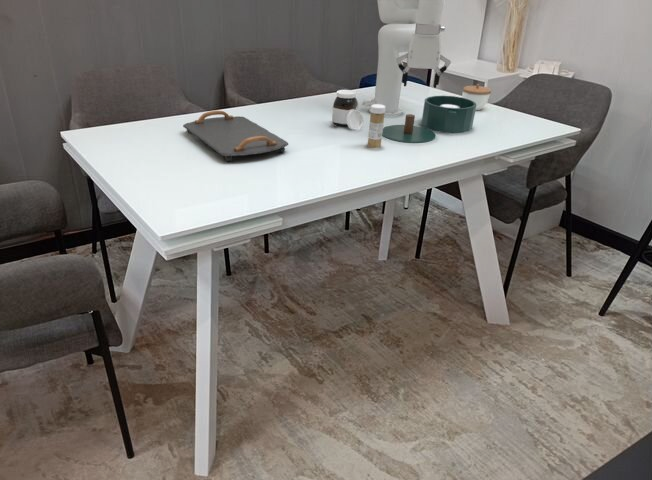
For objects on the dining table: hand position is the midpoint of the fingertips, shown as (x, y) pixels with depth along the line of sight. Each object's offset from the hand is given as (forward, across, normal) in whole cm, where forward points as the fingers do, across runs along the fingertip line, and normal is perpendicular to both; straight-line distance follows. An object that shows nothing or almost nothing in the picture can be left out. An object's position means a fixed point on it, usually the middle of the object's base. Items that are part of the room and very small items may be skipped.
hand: (419, 86), depth 180 cm
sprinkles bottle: (+17, +13, +16) cm, 27 cm away
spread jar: (+16, +23, -5) cm, 29 cm away
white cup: (+16, -12, -12) cm, 24 cm away
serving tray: (+17, +58, +20) cm, 64 cm away
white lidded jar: (+16, -26, -41) cm, 51 cm away
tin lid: (+16, +2, +1) cm, 16 cm away
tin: (+16, -12, -13) cm, 24 cm away
